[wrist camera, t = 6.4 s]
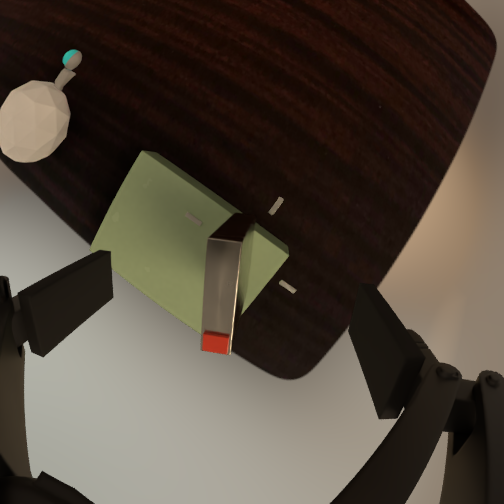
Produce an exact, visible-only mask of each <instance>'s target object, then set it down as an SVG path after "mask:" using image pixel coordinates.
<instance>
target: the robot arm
mask: <svg viewBox="0 0 504 504" xmlns="http://www.w3.org/2000/svg"><path fill="white" fill-rule="evenodd" d="M112 298H113V285H112V266H111V251H106V250H98V251H96V252H94V253H92V254H90V255H88V256H86V257H84V258H82V259H80V260H78V261H76V262H74V263H72V264H70V265H68V266H66V267H64V268H62V269H61V270H59V271H57V272H55V273H53V274H51V275H49V276H47V277H45V278H44V279H42V280H40V281H38V282H36V283H34V284H33V285H31V286H29V287H27V288H25V289H24V290H22V291H20V292H18V295H16V296H14V297H13V298H12V296H11V290H10V284H9V278H8V277H6V276H0V504H94V503H93V502H92V501H90V500H89V499H87V498H86V497H85V496H84V495H82V494H81V493H80V492H79V491H77V490H76V489H75V488H73V487H71V486H69V485H67V484H65V483H63V482H61V481H59V480H57V479H56V478H54V477H52V476H50V475H48V474H47V473H45V472H43V471H42V472H41V473H40V475H39V476H38V478H33V477H32V474H31V471H30V464H29V457H28V450H27V440H26V428H25V412H24V364H25V349H24V346H23V343H25V342H26V341H27V340H28V342H29V345H30V349H31V352H33V353H35V354H37V355H39V356H41V357H44V356H45V355H46V354H48V353H49V352H50V351H51V350H52V349H53V348H54V347H56V346H57V345H58V344H59V343H60V342H61V341H62V340H64V339H65V338H66V337H67V336H68V335H69V334H70V333H72V332H73V331H74V330H75V329H76V328H77V327H79V326H80V325H81V324H82V323H83V322H85V321H86V320H87V319H88V318H89V317H90V316H92V315H93V314H94V313H95V312H96V311H98V310H99V309H100V308H101V307H102V306H104V305H105V304H106V303H107V302H109V301H110V300H111V299H112ZM348 332H349V335H350V337H351V340H352V343H353V346H354V348H355V351H356V353H357V357H358V359H359V362H360V365H361V368H362V371H363V374H364V376H365V379H366V382H367V385H368V388H369V391H370V394H371V397H372V400H373V403H374V406H375V409H376V412H377V415H378V418H379V419H396V418H398V416H399V414H400V412H401V410H402V408H403V406H404V409H405V410H404V411H403V413H402V414H401V416H400V417H399V419H398V420H397V422H396V423H395V425H394V426H393V427H392V429H391V430H390V432H389V433H388V435H387V436H386V437H385V439H384V440H383V441H382V443H381V444H380V445H379V447H378V448H377V449H376V451H375V452H374V453H373V455H372V456H371V457H370V458H369V460H368V461H367V462H366V463H365V465H364V466H363V467H362V468H361V469H360V471H359V472H358V473H357V474H356V475H355V477H354V478H353V479H352V480H351V481H350V482H349V483H348V485H347V486H346V487H345V488H344V489H343V490H342V491H341V492H340V493H339V495H338V496H337V497H336V498H335V499H334V500H333V501H332V502H331V503H330V504H405V503H406V501H407V500H408V498H409V496H410V495H411V493H412V491H413V489H414V488H415V486H416V484H417V482H418V481H419V479H420V477H421V475H422V473H423V471H424V469H425V468H426V466H427V463H428V462H429V460H430V457H431V456H432V453H433V451H434V449H435V447H436V445H437V443H438V441H439V438H440V436H441V434H442V431H445V432H448V446H447V456H446V465H445V474H444V480H443V487H442V493H441V498H440V504H504V378H503V377H502V375H500V374H498V373H497V372H493V371H488V370H486V371H482V372H481V373H480V374H479V376H478V378H477V380H476V381H470V380H464V379H462V375H461V373H460V372H459V371H458V370H457V369H456V368H455V367H453V366H451V365H449V364H446V363H439V362H438V360H437V359H436V357H435V356H434V355H433V353H432V352H431V350H430V349H428V346H427V345H426V344H425V342H424V341H423V339H422V338H421V337H420V335H418V334H417V333H416V332H414V331H413V330H410V329H406V328H405V327H404V325H403V324H402V322H401V321H400V320H399V318H398V317H397V315H396V314H395V313H394V311H393V310H392V308H391V307H390V306H389V304H388V303H387V302H386V300H385V299H384V298H383V296H382V295H381V294H380V292H379V291H378V290H377V288H376V287H375V286H374V285H373V284H364V283H360V285H359V289H358V293H357V298H356V302H355V306H354V310H353V314H352V318H351V322H350V326H349V330H348Z"/></svg>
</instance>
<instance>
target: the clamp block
mask: <svg viewBox="0 0 504 504" xmlns="http://www.w3.org/2000/svg"><path fill="white" fill-rule="evenodd" d="M283 201H284V199H283V198H281V197H279V199H278V200H277V201H276V203H275V204H274V205H273V207H272V208H271V209H270V211H269V213H270V214H272V215H273V214H274V213H275V211H276V210H277V209H278V207H279V206H280V205H281V203H282V202H283ZM235 212H236V213H242V212H240V211H239V210H238V209H236V208H235V207H233V206H232V205H231V204H229V203H228V202H226V201H225V200H224V199H222V198H221V197H219V196H218V195H217V194H215V193H214V192H212V191H211V190H210V189H208V188H207V187H205V186H204V185H202V184H201V183H200V182H198V181H197V180H195V179H194V178H193V177H191V176H190V175H188V174H187V173H185V172H184V171H183V170H181V169H180V168H178V167H177V166H175V165H174V164H172V163H171V162H170V161H168V160H167V159H165V158H164V157H162V156H161V155H159V154H158V153H157V152H150V151H141V153H140V154H139V156H138V158H137V159H136V161H135V163H134V165H133V166H132V168H131V170H130V171H129V173H128V175H127V177H126V178H125V180H124V182H123V184H122V186H121V187H120V189H119V191H118V193H117V195H116V197H115V199H114V200H113V202H112V204H111V206H110V208H109V210H108V212H107V214H106V216H105V218H104V220H103V222H102V224H101V226H100V228H99V230H98V232H97V234H96V237H95V239H94V241H93V243H92V245H91V247H90V251H91V252H92V253H94V252H96V251H98V250H106V251H111V266H112V269H113V270H114V271H115V272H116V273H118V274H119V275H120V276H122V277H123V278H124V279H125V280H127V281H128V282H129V283H131V284H132V285H133V286H134V287H136V288H137V289H138V290H140V291H141V292H142V293H143V294H145V295H146V296H147V297H149V298H150V299H152V300H153V301H154V302H155V303H157V304H158V305H160V306H161V307H162V308H164V309H165V310H166V311H168V312H169V313H171V314H172V315H173V316H175V317H176V318H178V319H179V320H180V321H182V322H183V323H185V324H186V325H188V326H189V327H191V328H192V329H194V330H195V331H196V332H198V333H199V334H201V327H202V308H203V291H204V275H205V261H206V248H207V238H208V237H209V236H210V235H211V234H212V233H213V232H214V231H215V230H216V229H218V228H219V227H220V226H221V225H222V224H223V223H224V222H225V221H226V220H227V219H228V218H229V217H230V216H232V215H233V214H234V213H235ZM288 256H289V252H288V246H287V245H286V244H284V243H283V242H281V241H280V240H279V239H277V238H276V237H275V236H273V235H272V234H271V233H269V232H268V231H266V230H265V229H264V228H262V227H261V226H260V225H258V224H257V223H255V230H254V239H253V247H252V256H251V264H250V273H249V281H248V289H247V294H246V298H245V302H244V306H243V309H242V313H241V315H242V314H243V312H244V311H245V310H246V309H247V307H248V306H249V305H250V304H251V303H252V301H253V300H254V299H255V298H256V296H257V295H258V294H259V293H260V291H261V290H262V289H263V288H264V286H265V285H266V284H267V283H268V281H269V280H270V279H271V278H272V276H273V275H274V274H275V273H276V271H277V270H278V269H279V268H280V266H281V265H282V264H283V263H284V261H285V260H286V259H287V258H288ZM279 284H281V285H282V286H283V287H285V288H286V289H288V290H289V291H290V292H292V293H294V292H295V291H296V289H295V288H293V287H292V286H291V285H289V284H288V283H286V282H285V281H284V280H281V281H280V282H279Z"/></svg>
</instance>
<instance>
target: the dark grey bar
mask: <svg viewBox="0 0 504 504" xmlns="http://www.w3.org/2000/svg"><path fill="white" fill-rule="evenodd" d="M255 222H256V215H253V214H244V213H236V212H235V213H234V214H233V215H232V216H230V217H229V218H228V219H227V220H226V221H225V222H224V223H223V224H222V225H221V226H220V227H219V228H218V229H216V230H215V231H214V232H213V233H212V234H211V235H210V236H209V237H208V238H207V248H206V261H205V275H204V291H203V308H202V327H201V350H202V351H208V352H213V353H219V354H226V355H231V352H232V348H233V344H234V340H235V336H236V332H237V329H238V325H239V321H240V317H241V313H242V309H243V306H244V302H245V298H246V294H247V289H248V281H249V273H250V264H251V256H252V247H253V239H254V230H255Z"/></svg>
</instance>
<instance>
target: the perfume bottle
mask: <svg viewBox="0 0 504 504" xmlns="http://www.w3.org/2000/svg"><path fill="white" fill-rule="evenodd" d="M81 59H82V55H81V53H80V51H77V50H70V51H68V52H67V53H66V54H65V55H64V57H63V64H64V65H65V67H66V68H64V69H63V70H62V71H61V73H60V74H59V76H58V77H57V78H56V80H55V84H54V83H51V82H42V81H33V80H32V81H30V82H28V83H26V84H24V85H22V86H20V87H18V88H16V89H14V90H13V91H11V93H10V94H9V96H8V97H7V99H6V100H5V102H4V103H3V105H2V107H1V109H0V147H1V149H2V152H3V153H4V154H5V155H7V156H8V157H10V158H11V159H13V160H14V161H17V162H35V161H38V160H40V159H42V158H45V157H47V156H49V155H50V154H51V153H52V152H53V151H54V150H55V149H56V148H57V147H58V146H59V144H60V143H61V142H62V141H63V140H64V139H65V138H66V135H67V129H68V124H69V119H70V115H71V113H70V110H69V106H68V102H67V98H66V95H65V94H64V93H63V92H62V89H63V86H64V85H65V84H66V83H67V82H68V81H69V80H70V79H71V78H72V77H73V76H75V75H76V73H74V72H72V71H71V70H72V69H74V68H75V67H77V66H78V65H79V64H80V62H81Z"/></svg>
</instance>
